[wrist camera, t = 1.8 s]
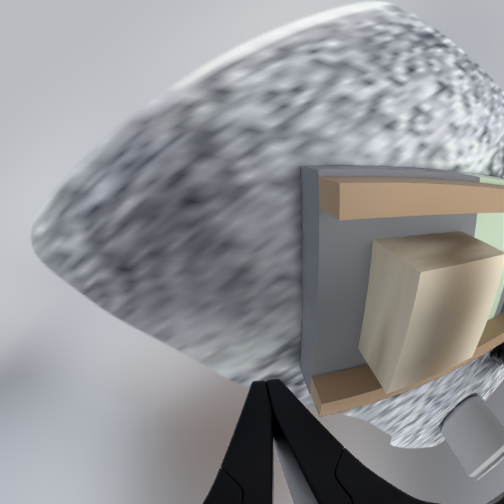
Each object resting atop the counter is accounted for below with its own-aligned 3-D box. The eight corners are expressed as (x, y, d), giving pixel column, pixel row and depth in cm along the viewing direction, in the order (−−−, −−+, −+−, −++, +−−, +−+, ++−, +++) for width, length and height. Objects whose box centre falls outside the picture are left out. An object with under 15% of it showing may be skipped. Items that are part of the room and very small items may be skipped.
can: (468, 391, 23) (512, 450, 12) (483, 392, 25) (521, 441, 13) (430, 430, 25) (465, 490, 14) (450, 427, 27) (482, 477, 15)
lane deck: (539, 185, 14) (571, 196, 10) (518, 295, 18) (544, 314, 14) (300, 166, 12) (339, 173, 8) (299, 366, 16) (318, 420, 12)
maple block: (460, 230, 11) (506, 253, 8) (439, 324, 14) (471, 357, 10) (372, 239, 11) (420, 272, 8) (357, 348, 13) (386, 394, 10)
